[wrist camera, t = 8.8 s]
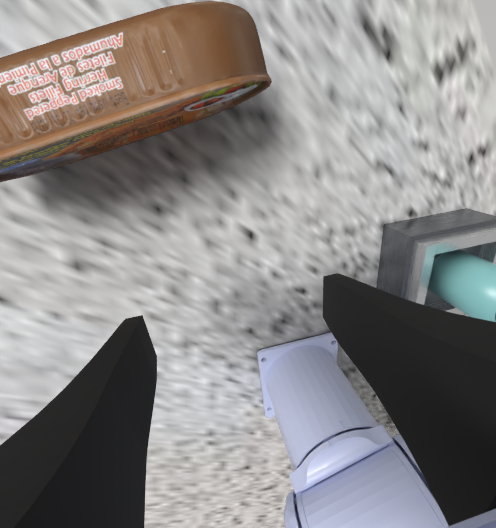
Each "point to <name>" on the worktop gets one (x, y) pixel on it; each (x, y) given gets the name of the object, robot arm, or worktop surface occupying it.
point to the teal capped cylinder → (465, 283)
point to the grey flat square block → (431, 251)
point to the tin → (125, 83)
